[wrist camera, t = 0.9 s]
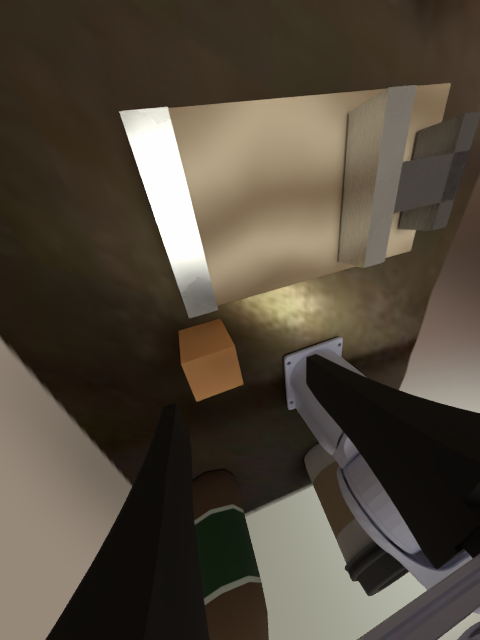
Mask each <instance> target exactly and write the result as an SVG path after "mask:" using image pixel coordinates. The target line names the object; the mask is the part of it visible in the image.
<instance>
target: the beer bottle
mask: <svg viewBox="0 0 480 640" xmlns="http://www.w3.org/2000/svg"><path fill="white" fill-rule="evenodd" d="M192 487H193V511H194V523H195V531H196V540H197V549H198V557H199V565H200V573H201V581H202V589H203V596H204V603H205V611H206V618H207V625H208V632H209V639H210V640H269V638H268V619H267V608H266V603H265V598H264V593H263V588H262V583H261V579H260V575H259V571H258V567H257V563H256V559H255V555H254V551H253V547H252V543H251V539H250V535H249V531H248V527H247V523H246V519H245V515H244V511H243V507H242V503H241V499H240V495H239V491H238V488H237V485H236V481H235V478H234V476H233V475H232V474H230V473H229V472H227V471H226V470H224V469H221V470H215V471H210V472H205V473H204V474H202V475H201V476H199V477H198V478H196V479H195V480H193V481H192Z"/></svg>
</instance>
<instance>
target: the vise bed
mask: <svg viewBox="0 0 480 640" xmlns="http://www.w3.org/2000/svg"><path fill="white" fill-rule="evenodd" d="M450 85H451V83H445V84H434V85H423V86H417V87H416V93H415V98H414V104H413V109H412V115H411V120H410V126H409V131H408V136H407V142H406V147H405V153H404V158H403V162H405V161H411V160H413V156H414V151H415V146H416V141H417V136H418V131H419V130H421V129H424V128H427V127H430V126H432V125H435V124H438V123H441V122H442V118H443V114H444V110H445V106H446V102H447V98H448V93H449V89H450ZM384 90H385V89H378V90H367V91H356V92H345V93H334V94H323V95H311V96H300V97H289V98H278V99H267V100H255V101H244V102H233V103H222V104H211V105H200V106H188V107H177V108H168V111H169V115H170V119H171V123H172V127H173V131H174V135H175V139H176V143H177V147H178V151H179V155H180V159H181V163H182V167H183V171H184V175H185V179H186V183H187V187H188V191H189V195H190V199H191V203H192V207H193V211H194V215H195V219H196V223H197V227H198V231H199V235H200V239H201V243H202V247H203V251H204V255H205V259H206V263H207V267H208V271H209V275H210V279H211V283H212V287H213V291H214V295H215V299H216V303H217V306H219V305H222V304H226V303H229V302H233V301H236V300H240V299H243V298H247V297H250V296H254V295H257V294H261V293H264V292H268V291H271V290H275V289H278V288H282V287H285V286H289V285H292V284H296V283H299V282H303V281H306V280H310V279H313V278H317V277H320V276H324V275H327V274H331V273H334V272H338V271H341V270H345V269H348V268H352V267H355V266H354V265H350V264H346V263H342V262H339V248H340V234H341V220H342V206H343V192H344V178H345V164H346V150H347V136H348V122H349V112H350V111H351V110H353V109H354V108H356V107H358V106H359V105H361V104H363V103H364V102H366V101H367V100H369V99H371V98H372V97H374V96H376V95H377V94H379V93H380V92H382V91H384ZM401 215H402V212H398V213H393V218H392V224H391V229H390V235H389V240H388V246H387V251H386V256H385V258H387V257H390V256H394V255H397V254H401V253H404V252H408V251H411V247H412V243H413V239H414V235H415V231H416V230H402V229H399V225H400V220H401Z"/></svg>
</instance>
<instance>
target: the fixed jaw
mask: <svg viewBox="0 0 480 640" xmlns="http://www.w3.org/2000/svg"><path fill="white" fill-rule="evenodd" d="M119 112H120V115H121V118H122V121H123V124H124V127H125V130H126V133H127V136H128V139H129V142H130V145H131V148H132V151H133V154H134V157H135V160H136V163H137V165H138V168H139V171H140V174H141V177H142V180H143V183H144V186H145V189H146V192H147V195H148V198H149V201H150V204H151V207H152V210H153V213H154V216H155V219H156V222H157V225H158V228H159V231H160V234H161V237H162V240H163V243H164V246H165V248H166V251H167V254H168V257H169V260H170V263H171V266H172V269H173V272H174V275H175V278H176V281H177V284H178V287H179V290H180V293H181V296H182V299H183V302H184V305H185V308H186V311H187V314H188V317H189V318H193V317H196V316H200V315H203V314H206V313H210V312H213V311H217V310H218V307H217V303H216V299H215V295H214V291H213V287H212V283H211V279H210V275H209V271H208V267H207V263H206V259H205V255H204V251H203V247H202V243H201V239H200V235H199V231H198V227H197V223H196V219H195V215H194V211H193V207H192V203H191V199H190V195H189V191H188V187H187V183H186V179H185V175H184V171H183V167H182V163H181V159H180V155H179V151H178V147H177V143H176V139H175V135H174V131H173V127H172V123H171V119H170V115H169V111H168V107H162V108H150V109H139V110H128V111H119Z"/></svg>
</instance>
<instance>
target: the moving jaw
mask: <svg viewBox="0 0 480 640" xmlns="http://www.w3.org/2000/svg"><path fill="white" fill-rule="evenodd" d="M416 87H417V85H411V86H400V87H389V88H387V89H385V90H384V91H382V92H380V93H379V94H377V95H376V96H374V97H372V98H371V99H369V100H367V101H366V102H364V103H363V104H361V105H359V106H358V107H356V108H354V109H353V110H351V111H350V112H349V122H348V136H347V150H346V164H345V178H344V192H343V206H342V220H341V234H340V248H339V262H342V263H346V264H350V265H354V266H359V267H363V268H365V267H369V266H372V265H376V264H379V263H382V262H385V256H386V251H387V246H388V240H389V235H390V229H391V224H392V218H393V213H398V212H402V215H401V220H400V225H399V229H402V230H431V231H433V230H436V229H440V228H444V227H446V226H447V222H448V219H449V216H450V213H451V209H452V206H453V203H454V200H455V196H456V193H457V190H458V187H459V183H460V180H461V177H462V174H463V170H464V167H465V164H466V161H467V157H468V154H469V151H470V148H471V144H472V141H473V138H474V134H475V131H476V128H477V125H478V121H479V118H480V112H473V113H465V114H462V115H460V116H457V117H454V118H451V119H449V120H446V121H443V122H441V123H438V124H435V125H432V126H430V127H427V128H424V129H421V130H419V131H418V136H417V141H416V146H415V151H414V156H413V160H411V161H405V162H403V158H404V153H405V147H406V142H407V136H408V131H409V126H410V120H411V115H412V109H413V104H414V98H415V93H416Z"/></svg>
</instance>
